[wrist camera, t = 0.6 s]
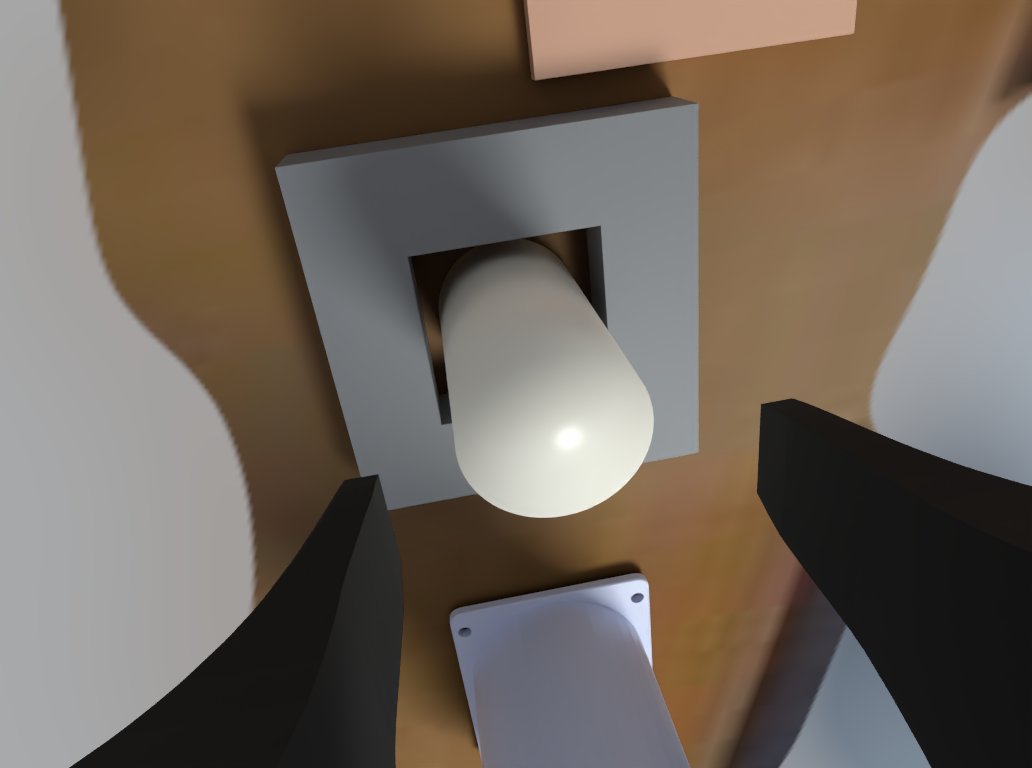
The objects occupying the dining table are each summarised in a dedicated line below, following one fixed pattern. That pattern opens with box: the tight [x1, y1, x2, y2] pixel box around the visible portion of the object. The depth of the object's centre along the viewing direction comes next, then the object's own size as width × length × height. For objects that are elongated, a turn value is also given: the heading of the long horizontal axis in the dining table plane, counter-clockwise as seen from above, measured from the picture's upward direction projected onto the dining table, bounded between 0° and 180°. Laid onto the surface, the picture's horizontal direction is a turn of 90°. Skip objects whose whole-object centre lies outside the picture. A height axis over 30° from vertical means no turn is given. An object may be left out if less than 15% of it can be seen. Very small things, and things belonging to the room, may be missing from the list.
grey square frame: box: [275, 96, 698, 510], centre depth 21 cm, size 11×11×2 cm
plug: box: [439, 239, 654, 518], centre depth 19 cm, size 4×4×8 cm
